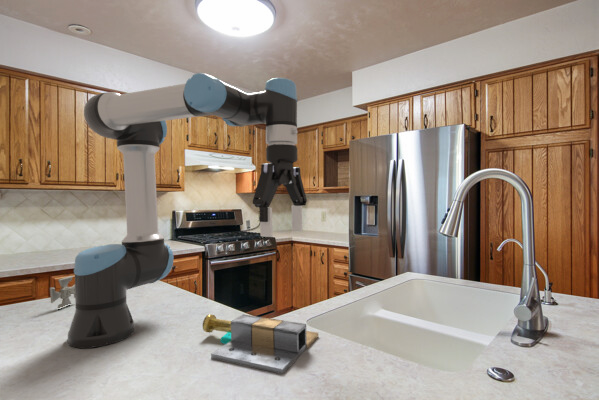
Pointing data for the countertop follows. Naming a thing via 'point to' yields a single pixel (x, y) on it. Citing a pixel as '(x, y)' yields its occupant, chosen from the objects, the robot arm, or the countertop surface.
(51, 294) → the cross
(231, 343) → the sliding bolt latch
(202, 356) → the countertop surface
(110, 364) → the countertop surface
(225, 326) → the pin
